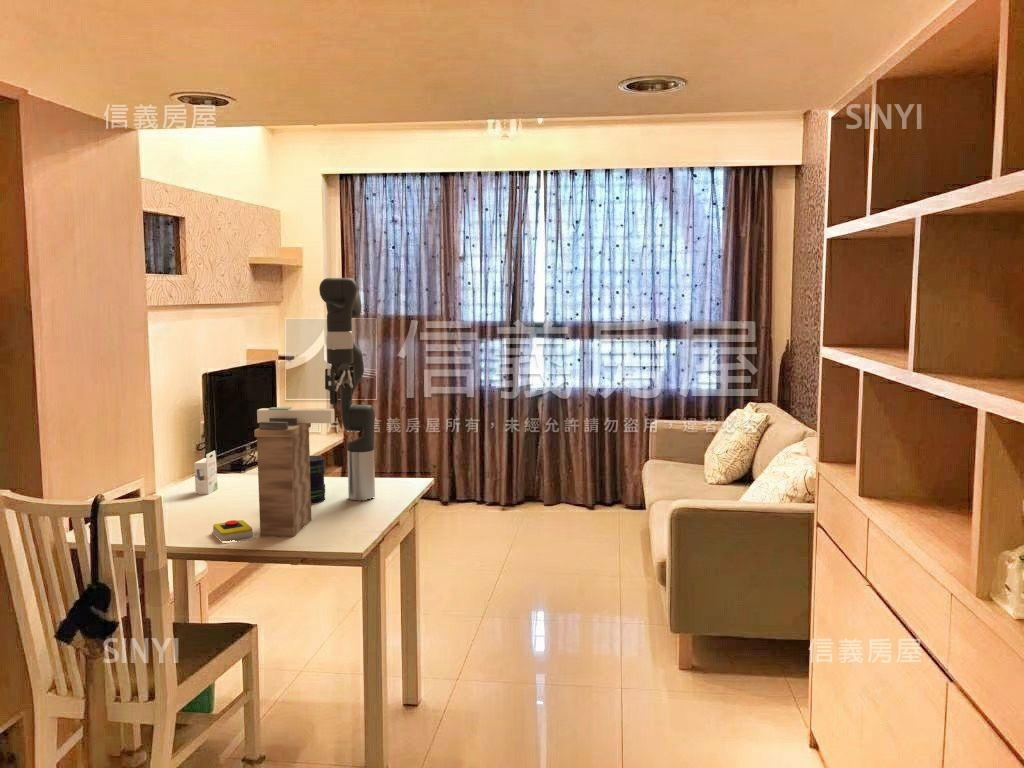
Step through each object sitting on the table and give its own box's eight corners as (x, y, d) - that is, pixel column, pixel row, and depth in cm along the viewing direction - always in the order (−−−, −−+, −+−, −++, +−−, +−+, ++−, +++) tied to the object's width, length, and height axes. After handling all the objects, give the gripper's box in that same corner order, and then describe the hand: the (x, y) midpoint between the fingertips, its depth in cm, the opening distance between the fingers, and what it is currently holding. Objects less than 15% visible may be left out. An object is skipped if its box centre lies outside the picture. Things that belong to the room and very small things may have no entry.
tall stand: (279, 519, 252) (276, 414, 248) (313, 519, 251) (310, 414, 248) (258, 536, 233) (254, 423, 229) (294, 537, 233) (291, 423, 229)
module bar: (262, 421, 247) (261, 407, 247) (334, 421, 246) (334, 407, 246) (257, 422, 243) (256, 408, 243) (331, 423, 242) (330, 409, 242)
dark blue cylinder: (293, 504, 271) (292, 461, 270) (300, 497, 281) (298, 455, 279) (322, 503, 271) (321, 461, 270) (328, 496, 281) (327, 455, 280)
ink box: (204, 489, 293) (203, 449, 292) (218, 489, 293) (216, 449, 291) (194, 494, 284) (192, 454, 283) (208, 494, 284) (206, 454, 283)
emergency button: (241, 514, 243) (255, 526, 231) (242, 528, 244) (256, 540, 231) (210, 519, 238) (223, 531, 226) (210, 533, 238) (223, 546, 226)
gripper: (339, 345, 237) (341, 399, 238) (315, 348, 223) (317, 405, 224) (362, 346, 235) (363, 400, 236) (340, 348, 221) (341, 405, 223)
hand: (341, 402), depth 230 cm, fingers open, 8 cm apart
